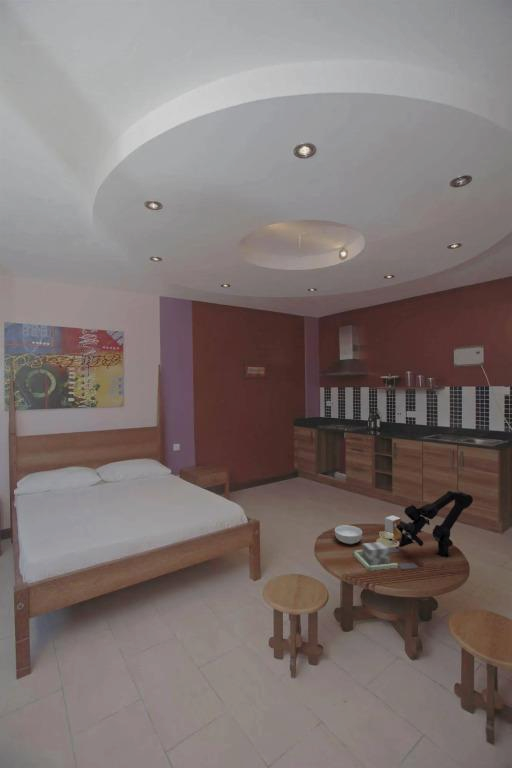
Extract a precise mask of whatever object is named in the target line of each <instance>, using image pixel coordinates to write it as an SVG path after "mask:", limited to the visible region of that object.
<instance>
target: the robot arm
mask: <svg viewBox="0 0 512 768" xmlns="http://www.w3.org/2000/svg"><path fill="white" fill-rule="evenodd" d="M451 502H454V505H453V506H452V508H451V510H450V511H449V512H448V514H447V516H446V517H445V519H444V521H442V523H441V524H440V525H438V524H436V525H435V526H434V528H433V529H432V532H431V534H432V537H433V538H434V540H435V541H436V542H437V551H436V552H435V554H437V555H440V556H442V557H446V558H449V557H450V556H451V555H452V552H450V547H453V543H454V542H453V541H452V539H450V537H451V529H452V528H453V526H454V525H455V523H456V521H457V520H458V519H459V517H460V515H461V514H462V512H463V511H464V510H465V509H468V508H469V507H470V506H471V505H472V504H473V502H474V499H473V497H472V495H470V494H468V493H466V492H463V491H458V492H457V491H452V490H448V491H447V492H446V493H445V494H443V495H442V496H441V497H439V498H438V499H436V500H435V501H434V502H432V503H427V504H424V505H422V506H421V507H418V508H417V507H416V506H415V505H413V504H411V505H410V506H407V507H406V508H405V509H404V512H403V513H404V514H405V515H406V516H407V517H408V518H409V519H410V520H411V521H412V522H411V521H409V522H406V521H402V520H401V521H400V524H398V525H397V526H396V528H397V529H398V530H399V531H400V532H401V538H400V542H399V545H398V546H399V548H403V547H405V546H409V545H412V544H415V543H416V544H417V545H418V546H419V547H423V545H424V541H423V540H422V539H421V538H420V537H419V536H418V534H419V533H421V534H422V532H423V531H422V529H423V528H424V527H425V525H428V526H430V520H433V519H434V518H435V517H436V516H437V515H438V514H439V513H438V512H439V511H440V510H442V509H443V508H444V507H446V506H447V505H448V504H450V503H451Z"/></svg>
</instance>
